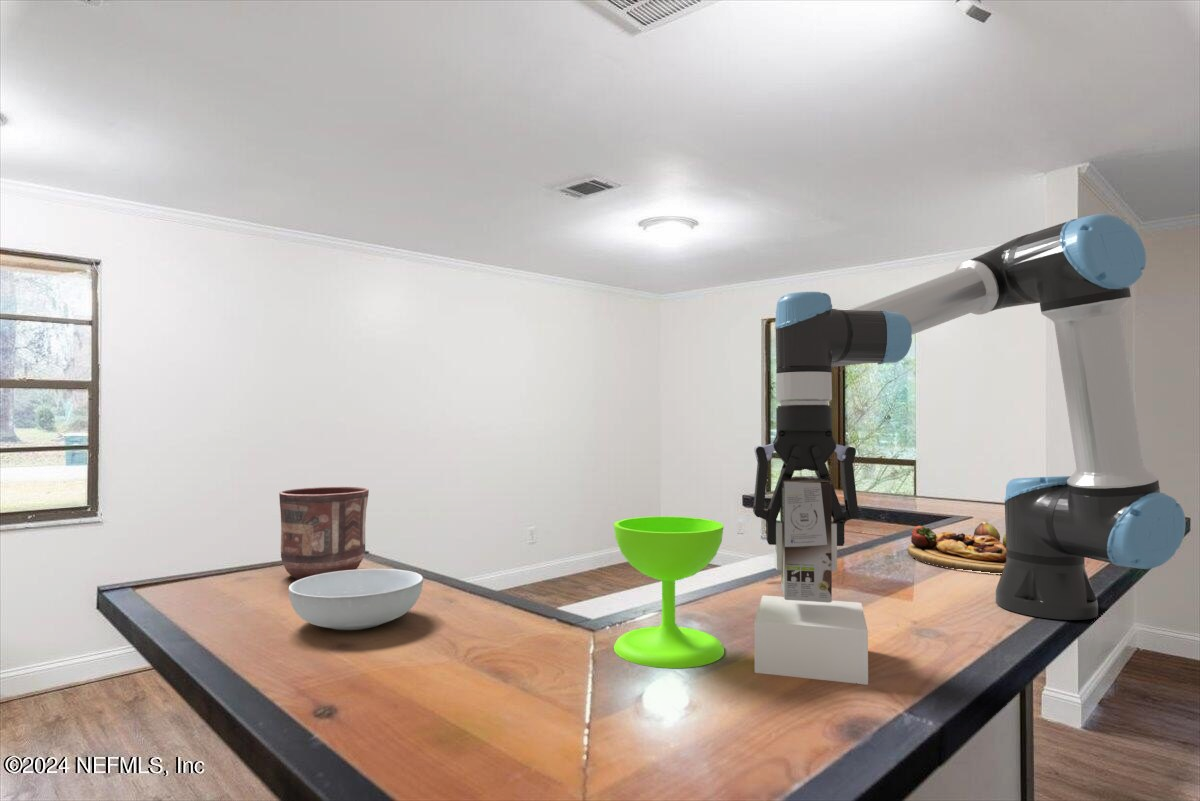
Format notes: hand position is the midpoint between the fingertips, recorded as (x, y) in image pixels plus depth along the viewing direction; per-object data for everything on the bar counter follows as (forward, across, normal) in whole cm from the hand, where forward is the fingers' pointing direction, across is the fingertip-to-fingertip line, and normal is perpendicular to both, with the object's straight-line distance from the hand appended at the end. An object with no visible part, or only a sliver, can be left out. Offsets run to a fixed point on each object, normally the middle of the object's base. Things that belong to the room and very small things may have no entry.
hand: (805, 568), depth 98 cm
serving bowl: (+13, +70, -9) cm, 72 cm away
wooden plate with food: (+13, -52, -73) cm, 91 cm away
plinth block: (+13, 0, +1) cm, 13 cm away
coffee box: (+4, 0, 0) cm, 4 cm away
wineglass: (+13, +19, -2) cm, 23 cm away
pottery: (+13, +93, -41) cm, 103 cm away
